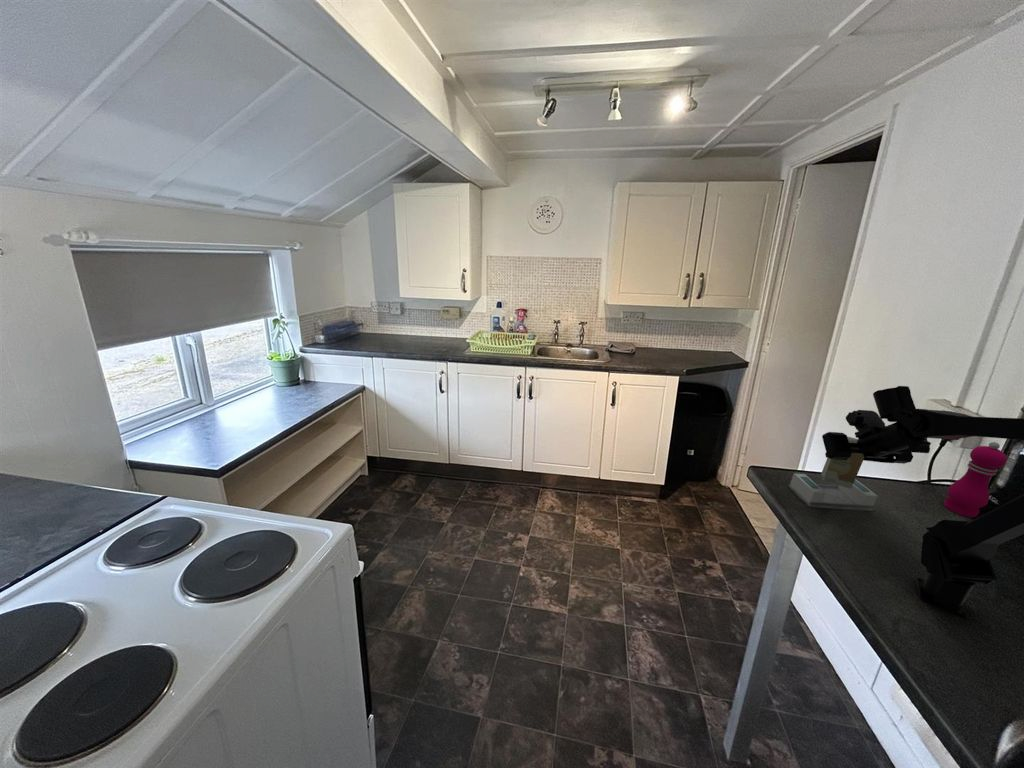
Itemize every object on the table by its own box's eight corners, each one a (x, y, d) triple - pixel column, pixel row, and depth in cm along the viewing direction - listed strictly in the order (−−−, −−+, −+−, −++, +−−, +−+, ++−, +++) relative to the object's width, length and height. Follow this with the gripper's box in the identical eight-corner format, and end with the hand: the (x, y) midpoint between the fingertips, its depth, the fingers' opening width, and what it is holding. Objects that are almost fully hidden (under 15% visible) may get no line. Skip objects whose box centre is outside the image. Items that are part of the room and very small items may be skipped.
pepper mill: (962, 502, 111) (997, 437, 104) (988, 520, 104) (1027, 451, 97) (933, 499, 111) (966, 434, 104) (957, 517, 105) (994, 448, 98)
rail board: (846, 490, 114) (848, 485, 113) (872, 511, 105) (874, 506, 105) (788, 486, 114) (789, 482, 113) (809, 507, 105) (811, 502, 105)
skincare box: (822, 481, 107) (837, 439, 103) (820, 473, 111) (834, 433, 106) (853, 489, 104) (869, 447, 100) (850, 481, 108) (866, 440, 103)
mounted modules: (848, 488, 113) (853, 476, 112) (872, 507, 105) (878, 495, 104) (789, 484, 113) (794, 472, 112) (809, 503, 105) (814, 491, 104)
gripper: (921, 407, 95) (867, 429, 110) (840, 402, 96) (797, 424, 110) (939, 454, 91) (881, 470, 105) (854, 449, 91) (807, 466, 105)
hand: (840, 456), depth 106 cm, fingers closed on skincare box, 7 cm apart
